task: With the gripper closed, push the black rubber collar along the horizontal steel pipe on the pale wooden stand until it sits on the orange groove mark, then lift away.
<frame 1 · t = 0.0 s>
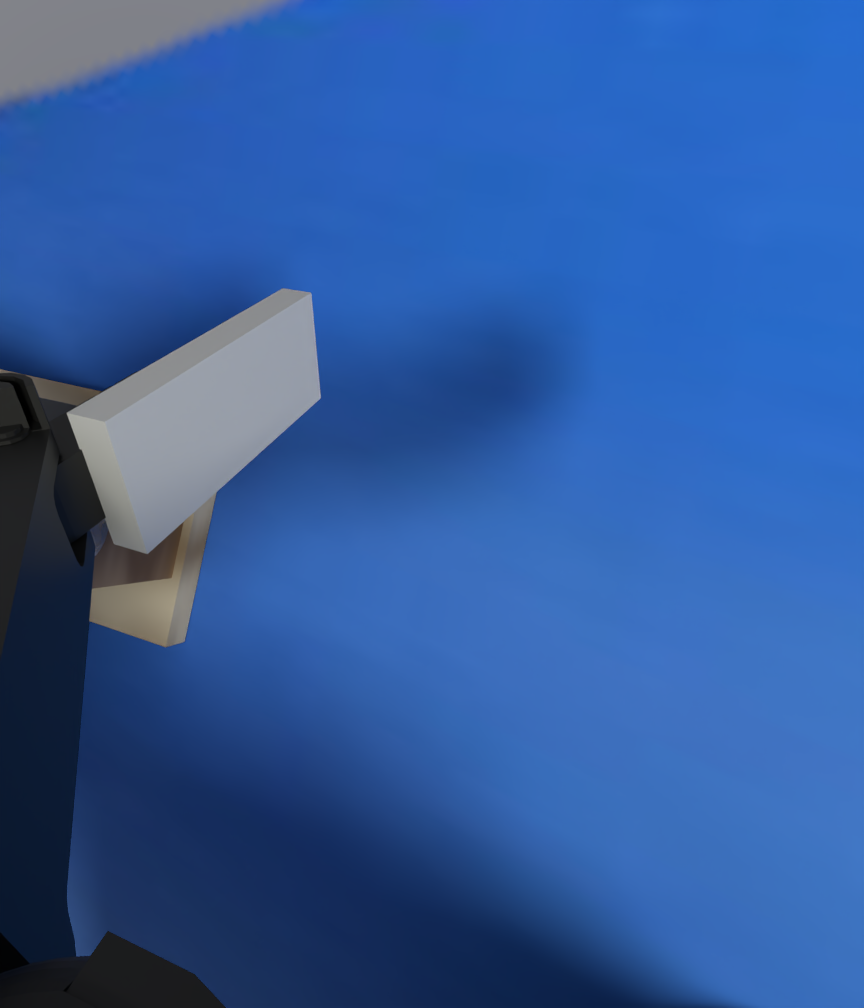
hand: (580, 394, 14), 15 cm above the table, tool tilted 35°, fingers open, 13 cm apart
pipe stand: (26, 481, 37), on the table
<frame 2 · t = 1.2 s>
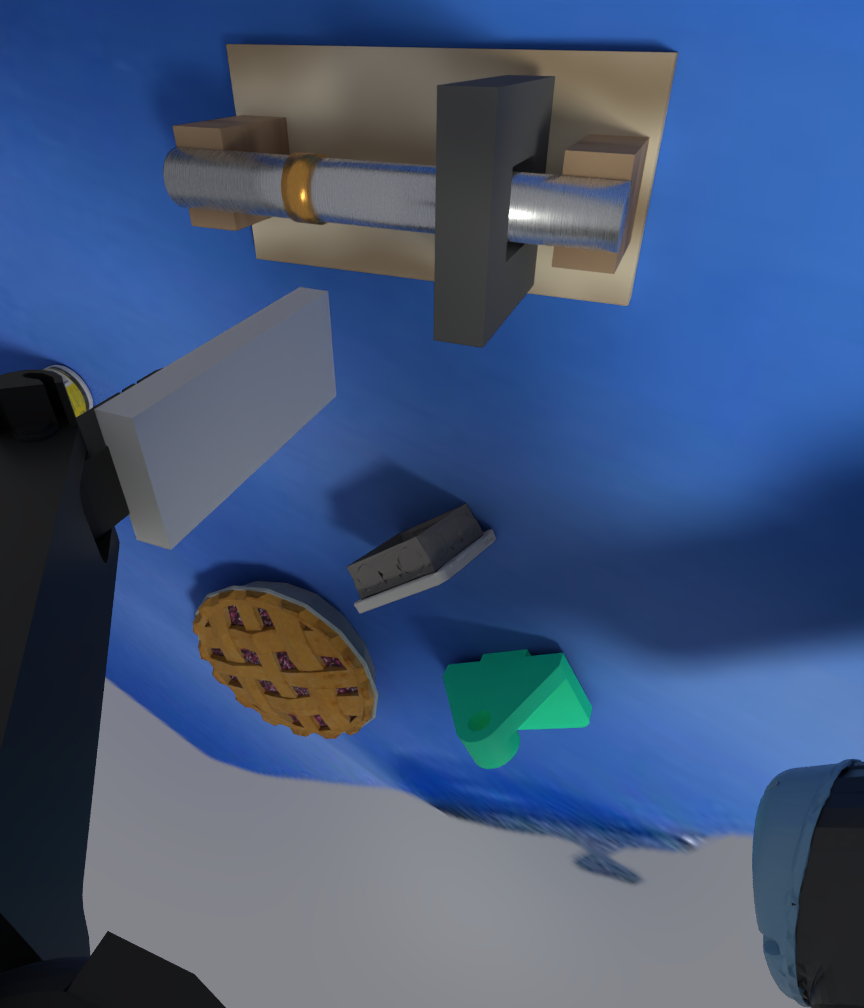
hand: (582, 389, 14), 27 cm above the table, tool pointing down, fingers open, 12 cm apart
pie: (299, 643, 71), on the table
pipe: (380, 195, 32), point 8 cm above the table
camera mount: (523, 677, 61), on the table
collar: (495, 205, 31), point 8 cm above the table, slide at -6.0 cm
pipe stand: (436, 171, 38), on the table
supplement bottle: (73, 389, 61), on the table
electrical switch: (437, 527, 54), on the table
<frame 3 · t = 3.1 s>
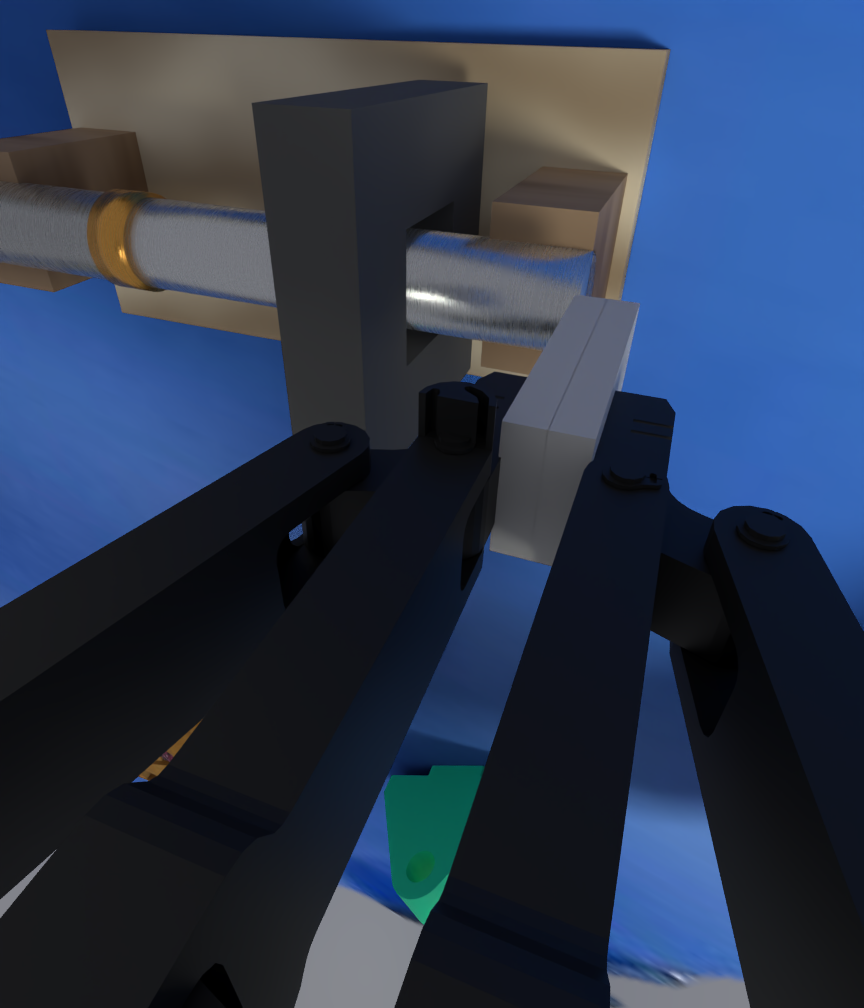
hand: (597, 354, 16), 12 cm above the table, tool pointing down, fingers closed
pie: (228, 734, 61), on the table
pipe: (234, 254, 22), point 8 cm above the table
camera mount: (480, 792, 51), on the table
collar: (395, 277, 20), point 8 cm above the table, slide at -6.0 cm
pipe stand: (341, 207, 28), on the table
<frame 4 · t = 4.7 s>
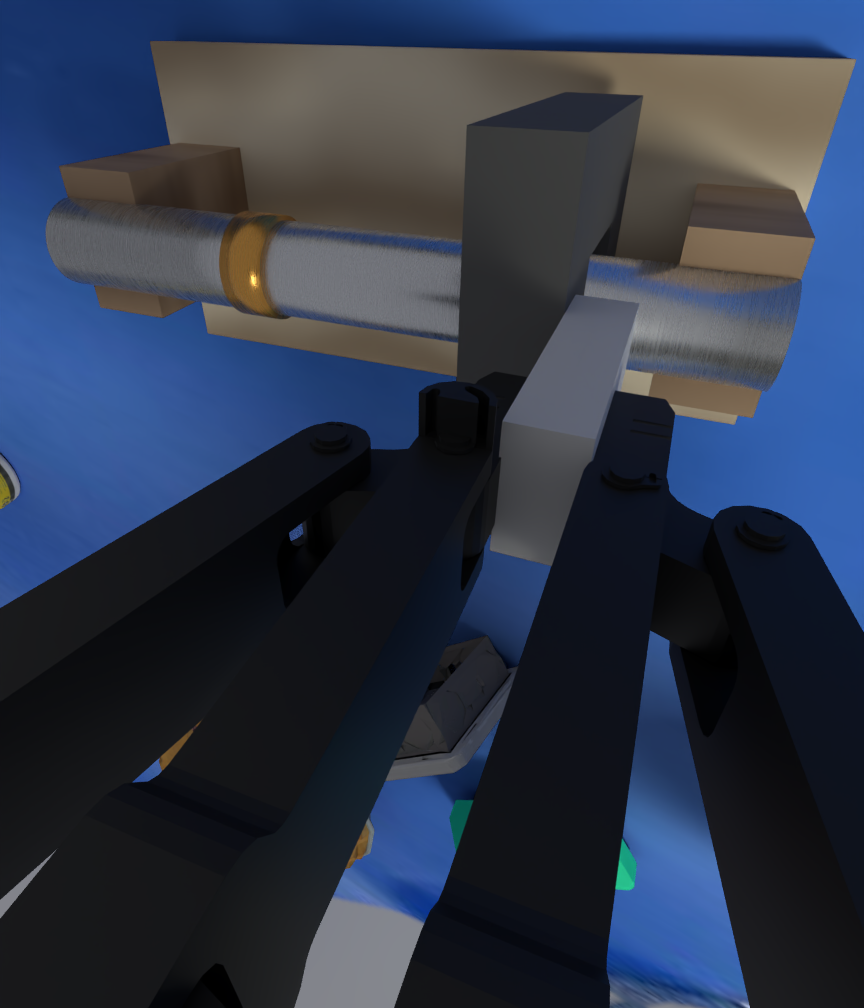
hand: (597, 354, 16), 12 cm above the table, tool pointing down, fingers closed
pie: (280, 756, 60), on the table
pipe: (375, 280, 21), point 8 cm above the table
camera mount: (548, 817, 50), on the table
collar: (549, 304, 19), point 8 cm above the table, slide at -5.7 cm, touching gripper
pipe stand: (455, 225, 27), on the table
electrical switch: (449, 656, 43), on the table
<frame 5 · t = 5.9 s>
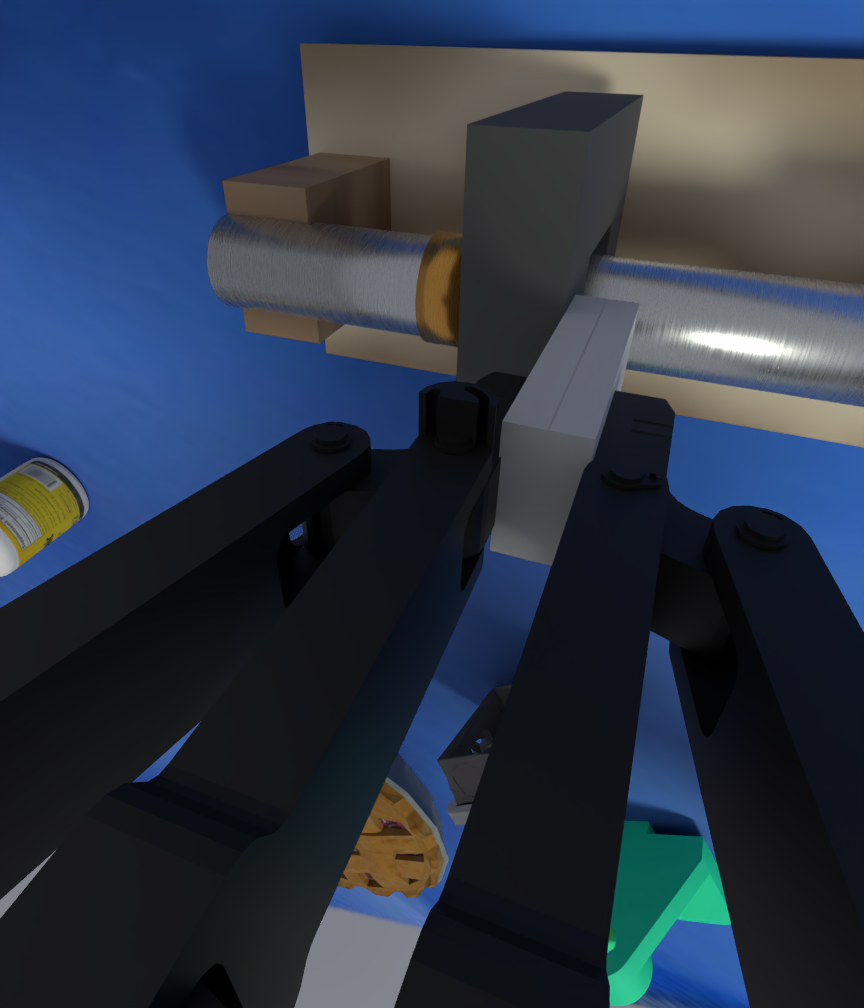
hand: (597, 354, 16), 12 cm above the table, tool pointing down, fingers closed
pie: (344, 780, 58), on the table
pipe: (585, 309, 19), point 8 cm above the table
camera mount: (635, 847, 48), on the table
collar: (549, 304, 19), point 8 cm above the table, slide at 1.1 cm, touching gripper
pipe stand: (620, 242, 25), on the table
supplement bottle: (63, 485, 47), on the table
electrical switch: (548, 686, 41), on the table
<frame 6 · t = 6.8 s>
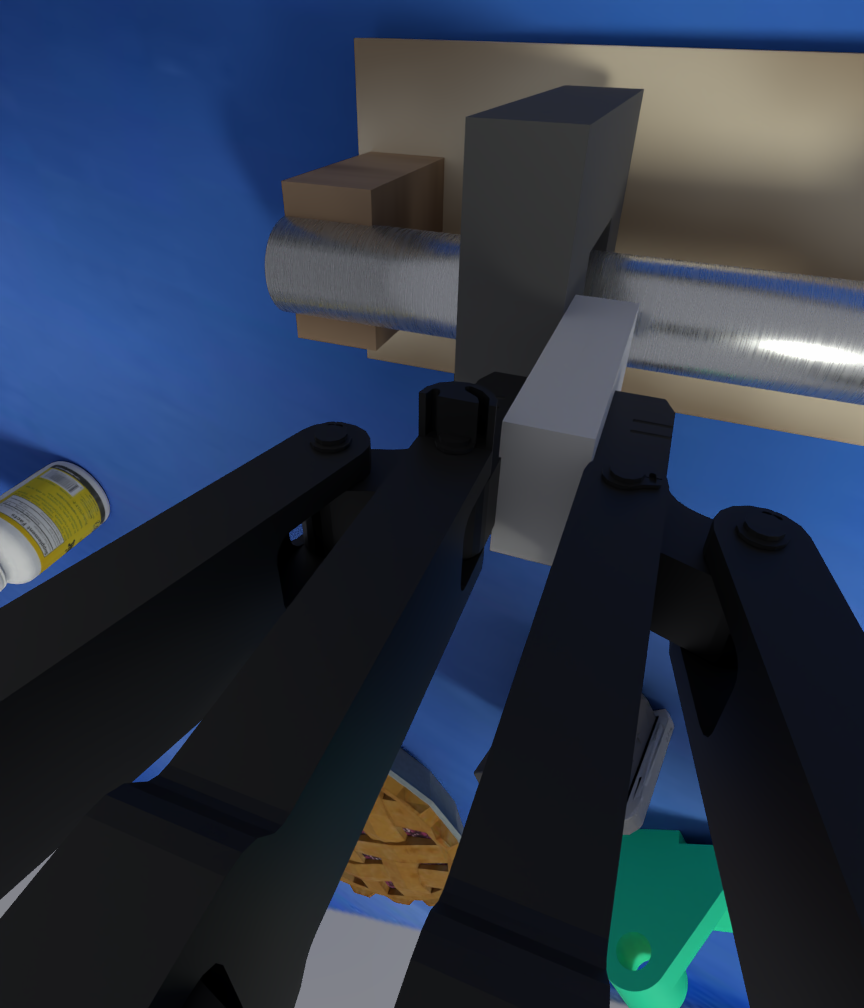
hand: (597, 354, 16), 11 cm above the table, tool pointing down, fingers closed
pie: (365, 787, 57), on the table
pipe: (668, 317, 18), point 8 cm above the table
camera mount: (664, 856, 47), on the table
collar: (548, 300, 19), point 8 cm above the table, slide at 3.4 cm, touching gripper
pipe stand: (683, 245, 24), on the table
supplement bottle: (83, 489, 46), on the table
electrical switch: (582, 696, 40), on the table
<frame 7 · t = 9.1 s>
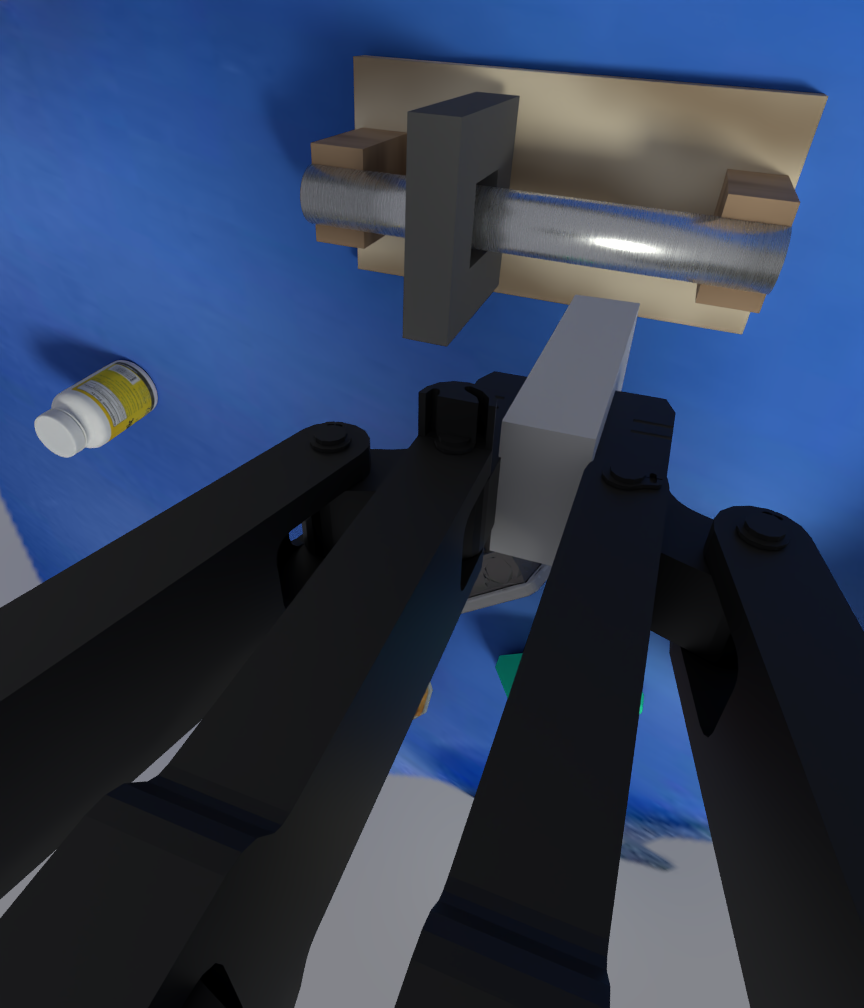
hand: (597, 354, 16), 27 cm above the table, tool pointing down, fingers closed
pipe: (525, 224, 33), point 8 cm above the table
camera mount: (573, 667, 62), on the table
collar: (461, 215, 33), point 8 cm above the table, slide at 3.4 cm
pipe stand: (556, 192, 39), on the table
supplement bottle: (136, 384, 60), on the table
electrical switch: (510, 533, 55), on the table
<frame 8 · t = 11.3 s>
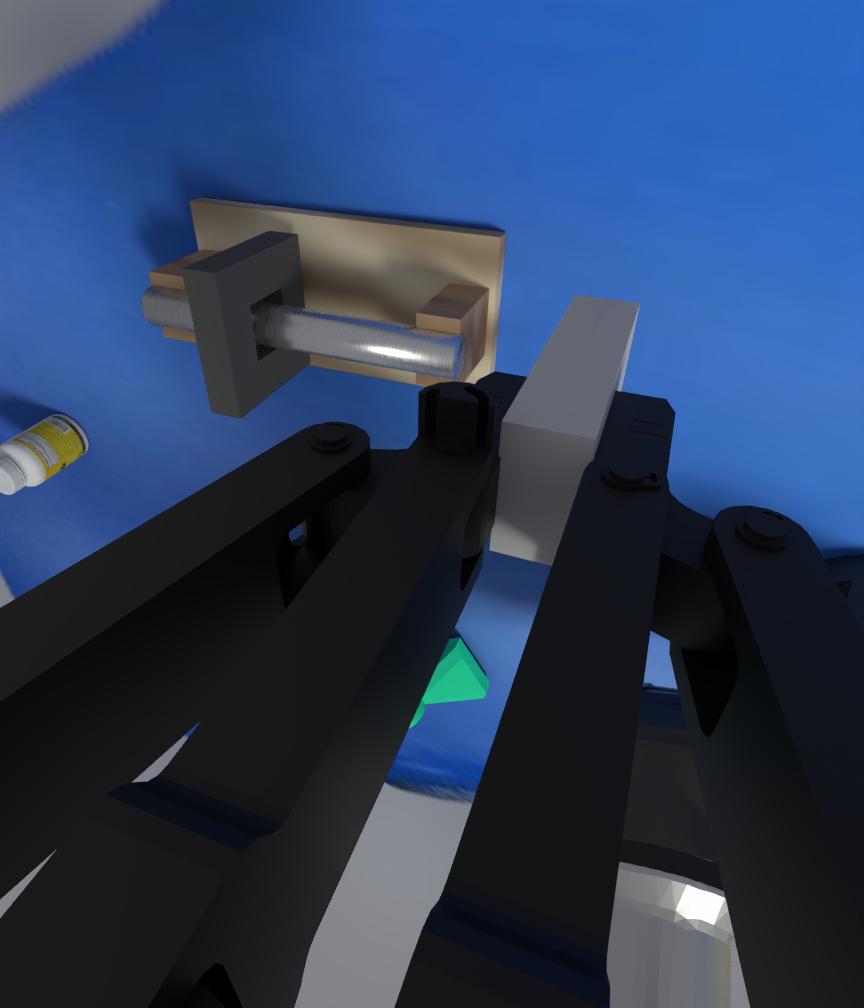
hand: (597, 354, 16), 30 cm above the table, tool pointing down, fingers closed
pipe: (296, 329, 45), point 8 cm above the table
camera mount: (436, 660, 74), on the table
collar: (255, 322, 46), point 8 cm above the table, slide at 3.4 cm
pipe stand: (347, 294, 51), on the table
supplement bottle: (72, 433, 74), on the table
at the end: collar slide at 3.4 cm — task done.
